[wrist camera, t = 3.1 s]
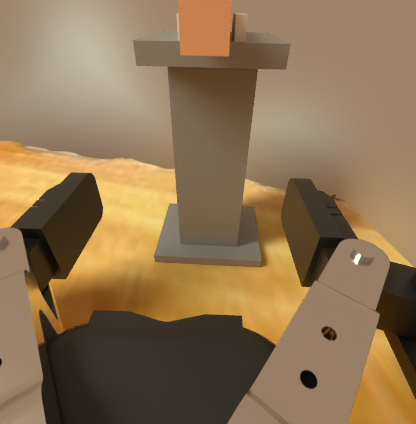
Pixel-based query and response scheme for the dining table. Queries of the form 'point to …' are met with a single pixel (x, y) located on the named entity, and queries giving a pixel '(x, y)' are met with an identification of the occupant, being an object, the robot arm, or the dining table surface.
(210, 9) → the bar
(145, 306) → the dining table surface
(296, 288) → the dining table surface
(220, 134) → the stand
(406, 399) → the dining table surface
